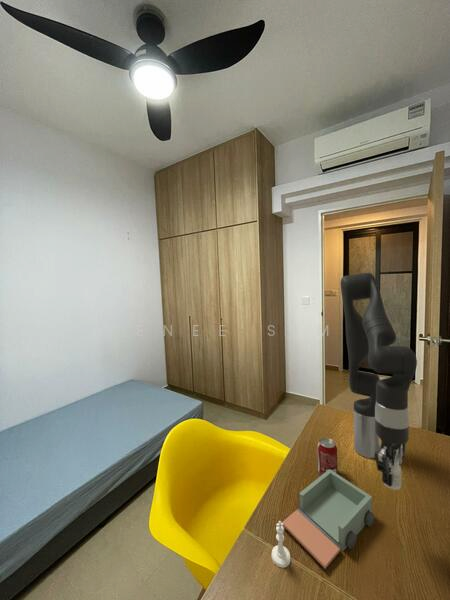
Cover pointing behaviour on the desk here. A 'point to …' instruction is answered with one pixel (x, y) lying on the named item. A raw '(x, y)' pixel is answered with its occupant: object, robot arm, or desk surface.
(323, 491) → the truck bed
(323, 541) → the panel
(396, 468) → the pill bottle
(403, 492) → the desk surface
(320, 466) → the soda can
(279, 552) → the chess piece
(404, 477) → the desk surface
